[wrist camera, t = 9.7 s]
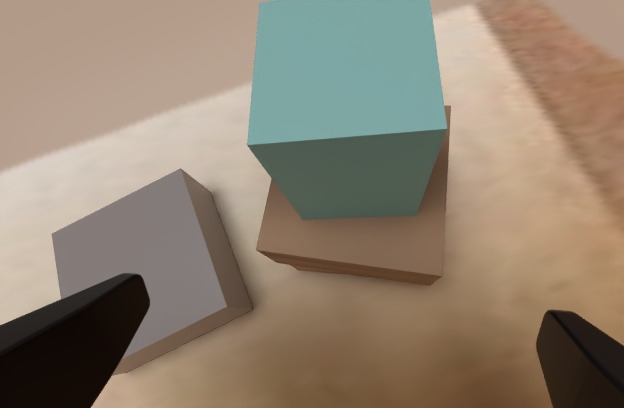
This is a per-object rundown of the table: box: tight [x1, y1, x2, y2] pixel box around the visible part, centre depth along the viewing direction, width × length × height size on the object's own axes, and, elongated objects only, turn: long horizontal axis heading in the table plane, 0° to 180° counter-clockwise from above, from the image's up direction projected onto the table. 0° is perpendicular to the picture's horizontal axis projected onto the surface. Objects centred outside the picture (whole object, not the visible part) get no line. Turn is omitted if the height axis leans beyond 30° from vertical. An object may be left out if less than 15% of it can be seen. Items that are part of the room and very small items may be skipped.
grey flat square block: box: [52, 168, 253, 375], centre depth 21 cm, size 9×9×4 cm
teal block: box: [247, 0, 447, 220], centre depth 13 cm, size 5×5×7 cm
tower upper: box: [256, 106, 451, 285], centre depth 17 cm, size 8×8×4 cm
